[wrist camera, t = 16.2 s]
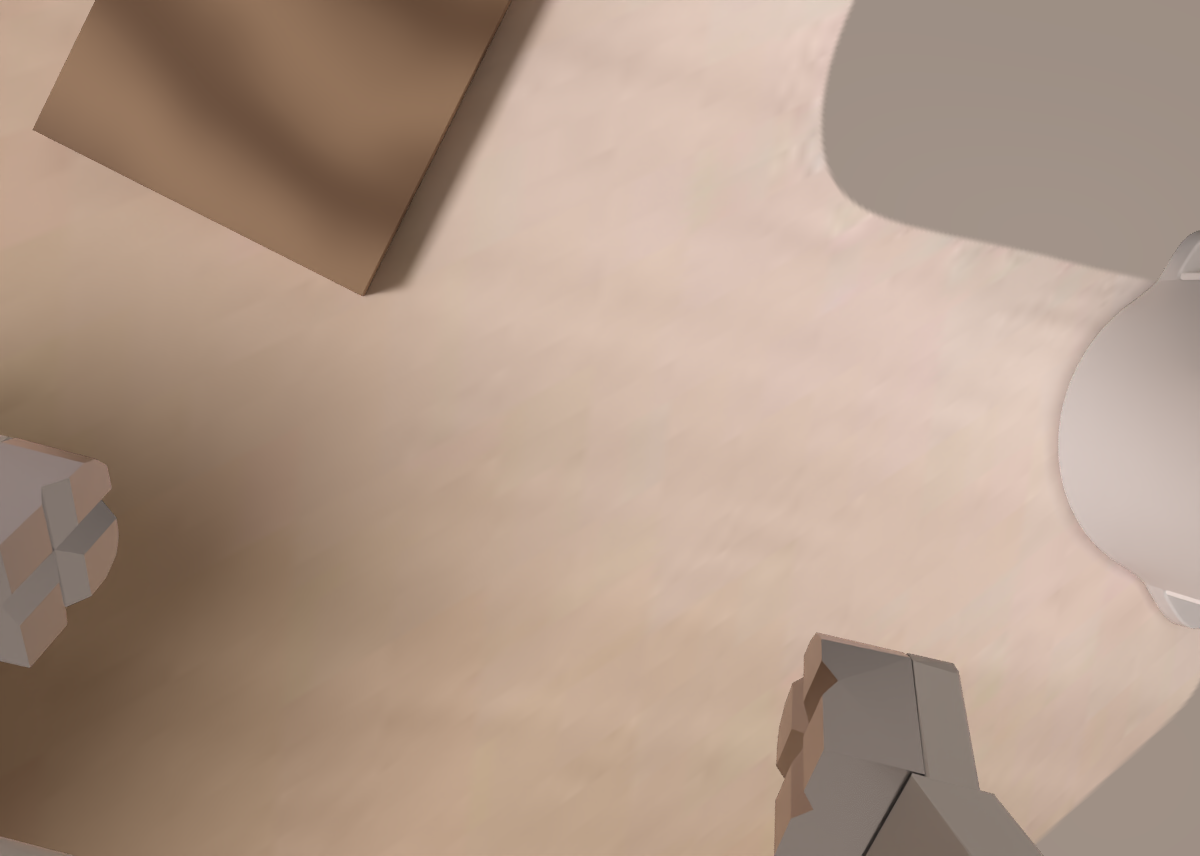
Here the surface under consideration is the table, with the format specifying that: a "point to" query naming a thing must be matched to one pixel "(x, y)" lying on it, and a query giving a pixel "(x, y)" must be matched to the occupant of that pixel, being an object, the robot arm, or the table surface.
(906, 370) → the table surface
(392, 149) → the beige thin flat slab
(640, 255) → the table surface
